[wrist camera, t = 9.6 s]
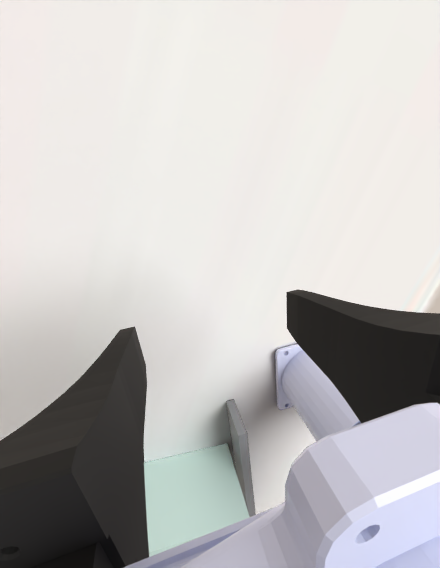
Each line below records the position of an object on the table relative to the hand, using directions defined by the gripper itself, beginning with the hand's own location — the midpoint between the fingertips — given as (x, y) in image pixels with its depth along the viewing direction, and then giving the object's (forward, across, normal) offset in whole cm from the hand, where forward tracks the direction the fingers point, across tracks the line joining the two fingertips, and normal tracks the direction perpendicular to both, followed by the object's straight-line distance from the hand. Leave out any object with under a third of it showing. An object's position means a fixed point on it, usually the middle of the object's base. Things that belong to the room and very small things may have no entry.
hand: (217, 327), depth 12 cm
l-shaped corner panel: (+10, +6, +26) cm, 29 cm away
